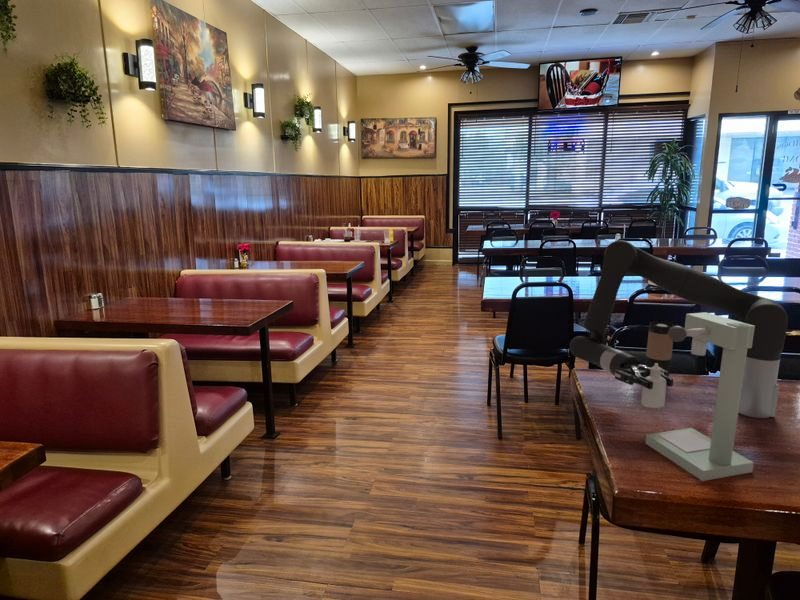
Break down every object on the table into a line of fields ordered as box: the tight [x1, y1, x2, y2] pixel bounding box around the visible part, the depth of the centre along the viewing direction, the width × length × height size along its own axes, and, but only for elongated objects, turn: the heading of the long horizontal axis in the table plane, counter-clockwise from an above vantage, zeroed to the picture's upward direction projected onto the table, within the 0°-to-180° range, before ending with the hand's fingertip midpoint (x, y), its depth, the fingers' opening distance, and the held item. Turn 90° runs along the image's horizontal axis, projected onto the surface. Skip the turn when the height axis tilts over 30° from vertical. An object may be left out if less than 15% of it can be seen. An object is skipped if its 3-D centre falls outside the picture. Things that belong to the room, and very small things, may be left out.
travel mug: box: [645, 321, 675, 377], centre depth 171 cm, size 8×8×20 cm
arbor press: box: [645, 312, 755, 482], centre depth 120 cm, size 18×20×35 cm
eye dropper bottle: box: [640, 363, 667, 409], centre depth 136 cm, size 4×6×12 cm
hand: (661, 384), depth 134 cm, fingers closed on eye dropper bottle, 5 cm apart
